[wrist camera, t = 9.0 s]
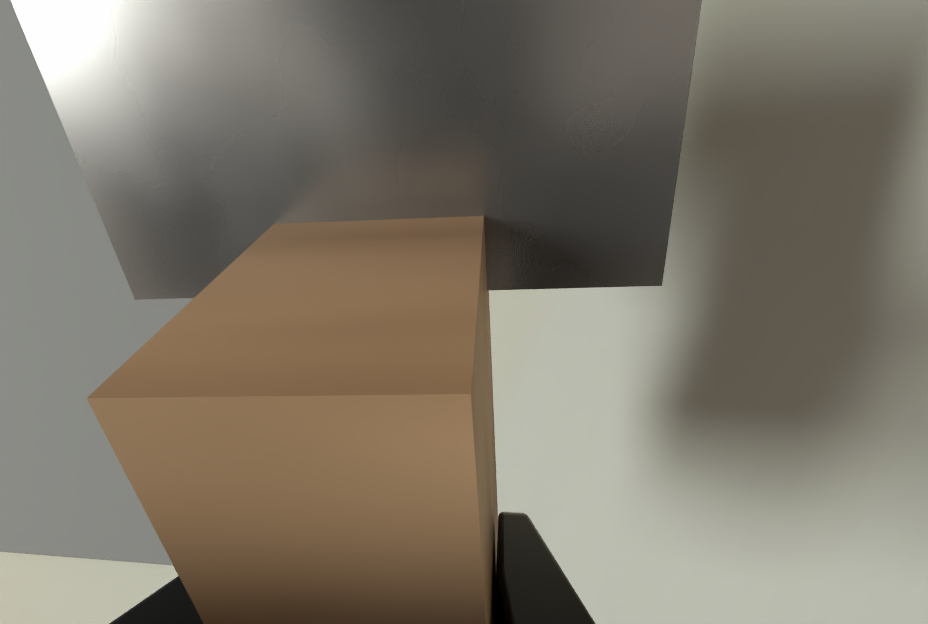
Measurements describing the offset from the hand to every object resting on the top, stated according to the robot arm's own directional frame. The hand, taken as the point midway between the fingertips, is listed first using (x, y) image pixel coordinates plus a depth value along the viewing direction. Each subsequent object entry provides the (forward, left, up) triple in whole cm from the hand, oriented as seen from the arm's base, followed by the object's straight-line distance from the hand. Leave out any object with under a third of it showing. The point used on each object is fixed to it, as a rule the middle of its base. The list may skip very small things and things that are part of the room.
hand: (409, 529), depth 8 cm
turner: (+3, 0, -1) cm, 3 cm away
